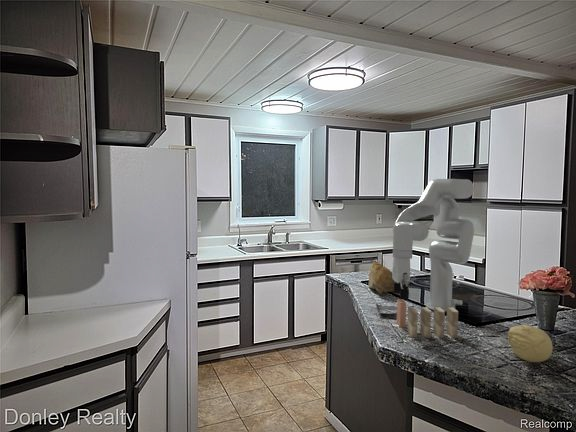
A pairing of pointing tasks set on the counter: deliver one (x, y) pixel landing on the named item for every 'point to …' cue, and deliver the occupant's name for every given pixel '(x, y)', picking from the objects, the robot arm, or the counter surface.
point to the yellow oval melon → (530, 343)
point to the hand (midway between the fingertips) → (400, 295)
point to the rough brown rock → (381, 278)
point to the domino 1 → (401, 313)
